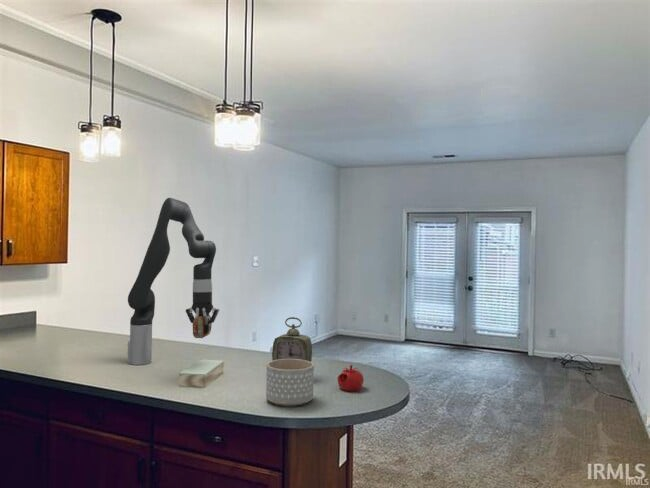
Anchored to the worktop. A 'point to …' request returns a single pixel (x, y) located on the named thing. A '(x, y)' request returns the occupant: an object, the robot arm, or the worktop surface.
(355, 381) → the pomegranate
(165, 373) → the worktop surface
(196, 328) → the tin
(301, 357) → the tabletop clock
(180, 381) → the plinth
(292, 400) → the planter
